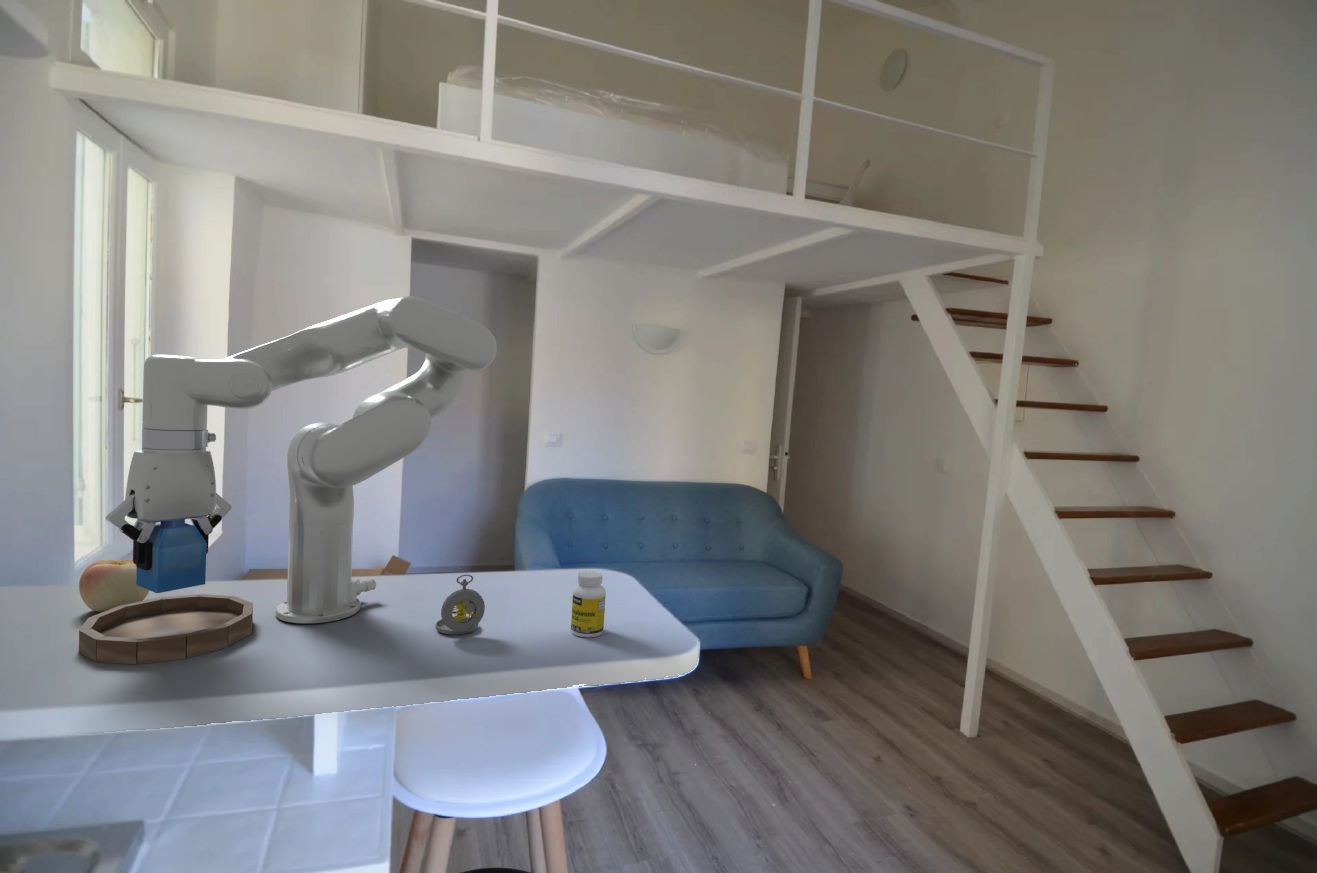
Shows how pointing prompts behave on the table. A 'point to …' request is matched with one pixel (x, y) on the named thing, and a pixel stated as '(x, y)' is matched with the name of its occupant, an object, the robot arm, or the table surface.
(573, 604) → the supplement bottle
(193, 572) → the perfume bottle
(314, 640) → the table surface
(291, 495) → the robot arm
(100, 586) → the apple
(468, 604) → the pocket watch
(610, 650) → the table surface
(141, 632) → the walnut tray
